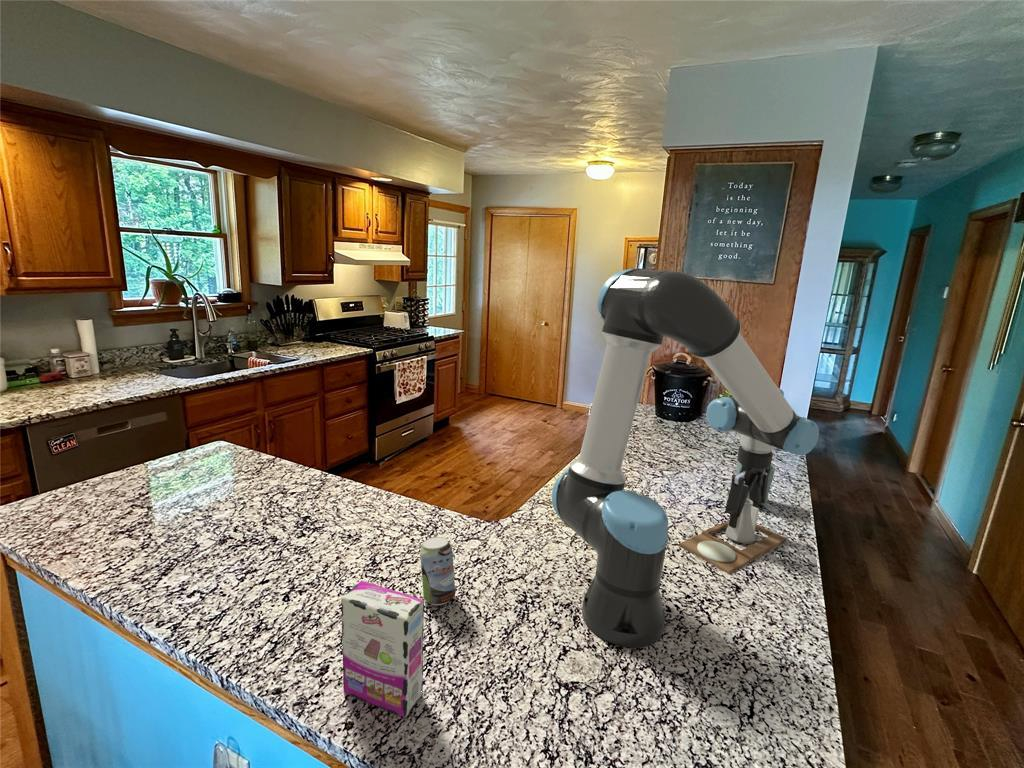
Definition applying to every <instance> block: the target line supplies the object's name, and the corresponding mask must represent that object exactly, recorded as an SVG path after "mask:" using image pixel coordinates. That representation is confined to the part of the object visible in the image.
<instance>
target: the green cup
mask: <svg viewBox="0 0 1024 768" xmlns="http://www.w3.org/2000/svg"><path fill="white" fill-rule="evenodd" d="M741 467H742V465H741V463H740V462H739V461H738V460H736V470H735V472H736V473H735V475H739V472H740V470H741ZM769 468H770V469H771V470H770V474H769V477H768V484H767V492H766V500H765V503H764V504H762V503H761V504H762V505H764V508H766V506H767V503H768V500H769V494H770V493H769V492H770V491H771V485H772V483H773V479H774V475H775V472H776V466H775V465H774V464H773V463H771V466H770V467H769ZM744 486H747V485H744ZM747 487H748V486H747ZM761 498H762V497H761ZM747 499H749V493H748V496H747ZM758 509H759V510H760V509H761V508H758ZM761 510H762V509H761Z"/></svg>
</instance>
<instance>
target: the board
mask: <svg viewBox="0 0 1024 768" xmlns="http://www.w3.org/2000/svg"><path fill="white" fill-rule="evenodd" d="M728 523H729V519H728V520H726V521H724V522H722V523H720V524H716V525H715V526H712V527H710V528H708V529H706V530H704V531H701V533H700V534H697V535H695V536H692V537H691V538H688V539H686V540H684V541H682V542H679V543H678V547H680V548H682V549H684V550H686V551H688V552H689V553H691V554H692V555H694V556H696V557H698V558H699V559H702V560H704V561H705V562H707V563H709V564H710V565H712V566H713V567H716V568H717V569H719V570H721V571H723V572H725V573H726V574H730V573H732V572H734V571H736V570H738V569H739V568H741V567H743V566H745V565H747V564H749V563H750V562H752V561H754V560H756V559H758V558H760V557H761V556H763V555H765V554H767V553H768V552H771V551H773V550H774V549H776V548H777V547H778V548H779V547H780V546H783V544H785V543H787V541H788V537H785V536H783V535H781V534H779V533H778V532H776V531H775V532H774V531H772V530H770V529H768V528H766V527H763V526H761V525H760V524H757V523H756V527H755V531H758V532H761V533H762V534H764V535H766V537H764V538H763V539H761V540H758V541H757V542H755V543H752V544H750V545H749V546H747V547H745V548H743V549H741V550H740V549H739V548H737V547H735V546H734V545H731V544H730V543H728V542H725V541H724V540H722V539H719V538H718V537H716V536H714V535H713V534H716V533H718V532H720V531H722V530H724V529H727V528H728Z"/></svg>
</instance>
